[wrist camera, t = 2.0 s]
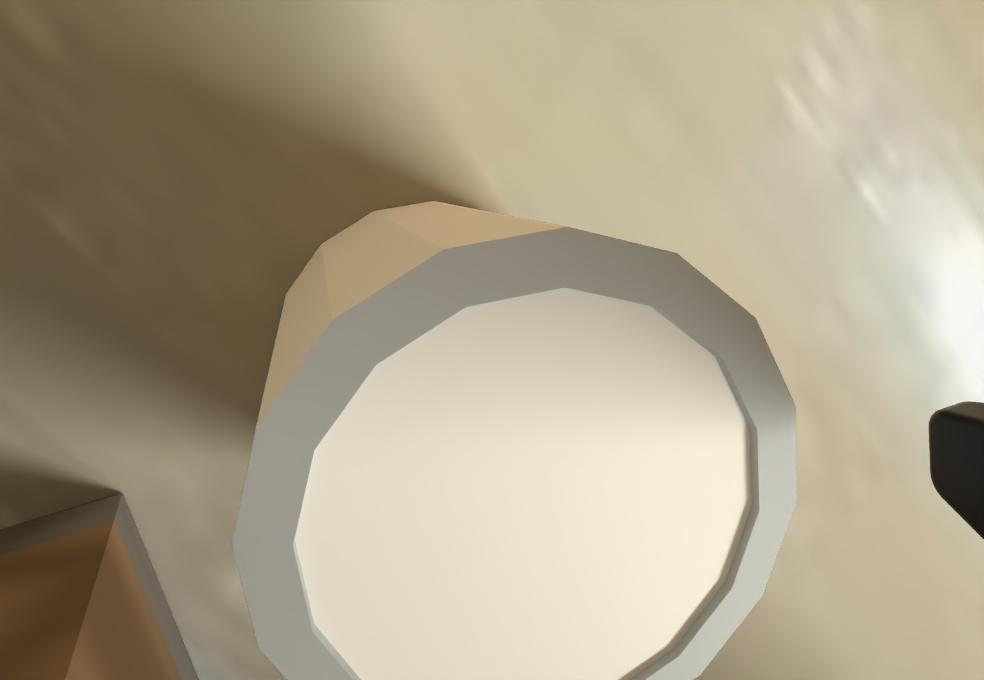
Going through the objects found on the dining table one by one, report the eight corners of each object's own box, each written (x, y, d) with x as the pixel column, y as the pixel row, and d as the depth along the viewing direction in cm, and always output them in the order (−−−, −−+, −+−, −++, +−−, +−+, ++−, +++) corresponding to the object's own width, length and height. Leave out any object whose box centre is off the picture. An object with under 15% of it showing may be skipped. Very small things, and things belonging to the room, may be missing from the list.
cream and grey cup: (153, 353, 15) (81, 561, 8) (438, 83, 15) (583, 86, 8) (416, 574, 18) (513, 861, 11) (658, 345, 18) (897, 500, 11)
